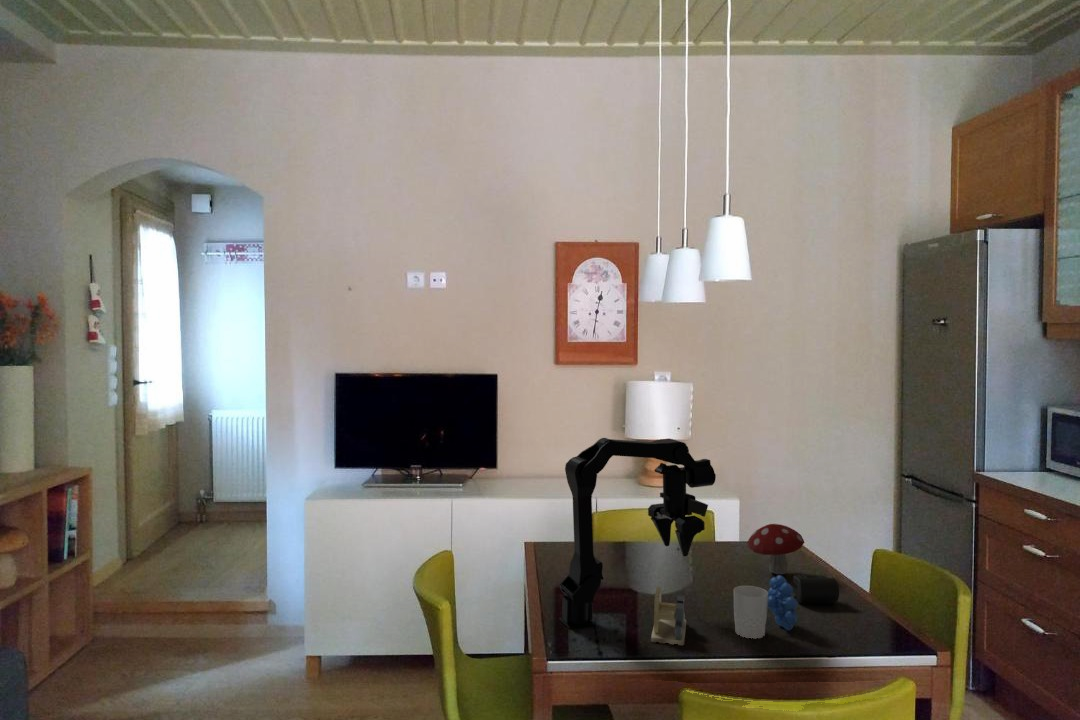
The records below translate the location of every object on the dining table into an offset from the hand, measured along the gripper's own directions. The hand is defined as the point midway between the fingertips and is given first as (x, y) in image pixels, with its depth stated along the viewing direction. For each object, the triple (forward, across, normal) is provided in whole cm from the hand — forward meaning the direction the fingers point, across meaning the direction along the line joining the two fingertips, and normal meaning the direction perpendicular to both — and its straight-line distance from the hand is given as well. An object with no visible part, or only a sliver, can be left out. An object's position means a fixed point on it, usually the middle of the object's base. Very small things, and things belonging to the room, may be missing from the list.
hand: (676, 550), depth 185 cm
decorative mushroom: (+18, +17, -42) cm, 48 cm away
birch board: (+15, -12, +9) cm, 21 cm away
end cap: (+18, -5, -38) cm, 42 cm away
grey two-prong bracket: (+15, -13, +7) cm, 21 cm away
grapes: (+16, -16, -18) cm, 29 cm away
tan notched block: (+14, -11, +10) cm, 20 cm away
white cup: (+16, -17, -9) cm, 25 cm away
